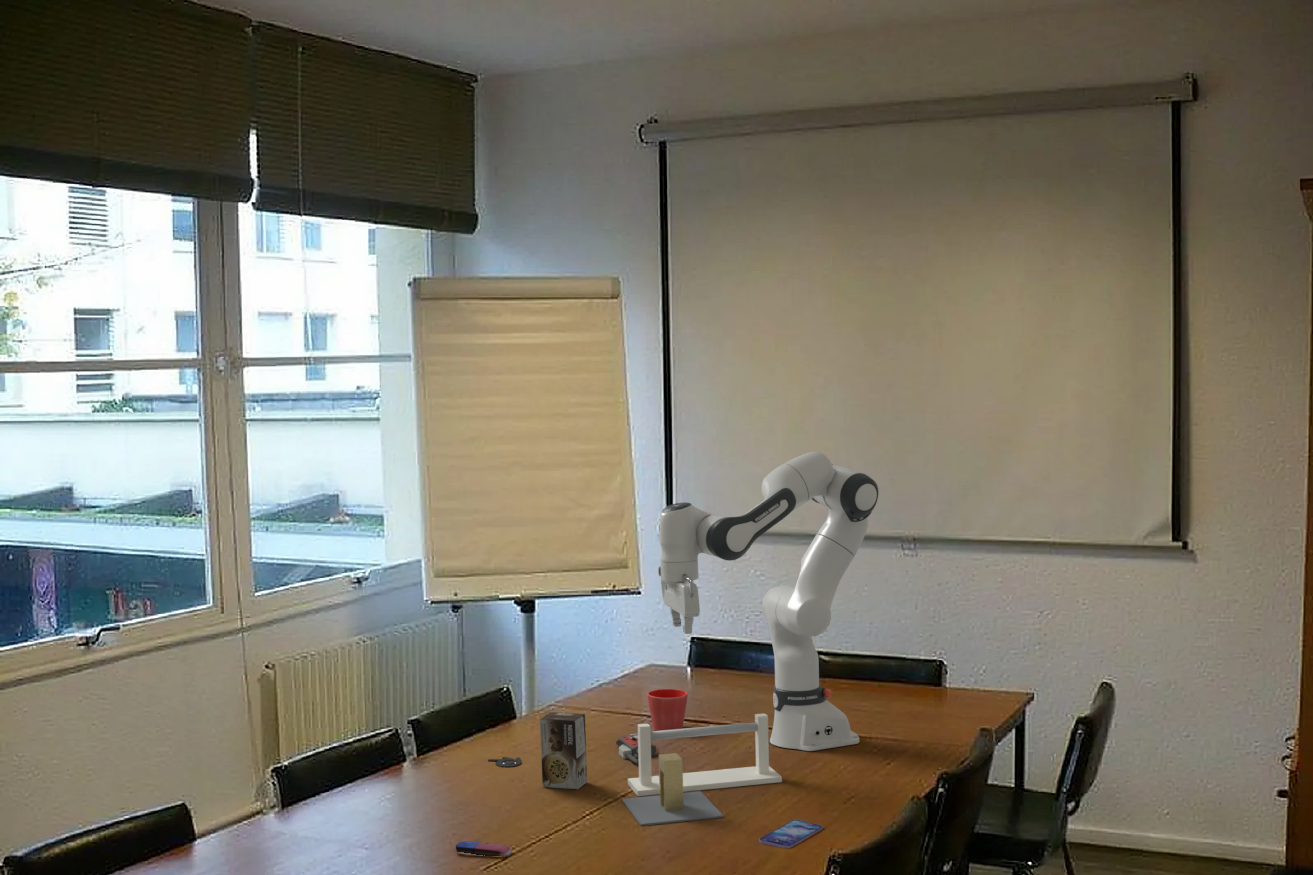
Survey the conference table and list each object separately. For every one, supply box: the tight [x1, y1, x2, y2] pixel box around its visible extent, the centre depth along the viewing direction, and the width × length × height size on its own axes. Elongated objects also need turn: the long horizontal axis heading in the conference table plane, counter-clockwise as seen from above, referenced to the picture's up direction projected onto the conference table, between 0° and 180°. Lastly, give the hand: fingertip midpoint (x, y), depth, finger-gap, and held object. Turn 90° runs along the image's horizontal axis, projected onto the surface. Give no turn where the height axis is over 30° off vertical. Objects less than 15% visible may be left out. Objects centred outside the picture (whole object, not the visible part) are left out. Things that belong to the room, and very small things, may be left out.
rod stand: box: [627, 713, 783, 797], centre depth 327 cm, size 34×10×15 cm, turn 104°
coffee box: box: [539, 711, 588, 790], centre depth 328 cm, size 9×6×16 cm
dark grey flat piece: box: [487, 756, 522, 768], centre depth 349 cm, size 9×8×1 cm
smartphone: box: [758, 819, 824, 849], centre depth 291 cm, size 7×1×15 cm
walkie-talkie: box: [615, 733, 657, 765], centre depth 352 cm, size 9×4×20 cm
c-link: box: [658, 752, 684, 811], centre depth 309 cm, size 4×5×11 cm
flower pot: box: [647, 688, 688, 731], centre depth 376 cm, size 11×11×10 cm
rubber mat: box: [621, 790, 724, 827], centre depth 309 cm, size 18×18×1 cm
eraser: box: [455, 840, 513, 858], centre depth 284 cm, size 11×4×2 cm, turn 75°
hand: (682, 629), depth 338 cm, fingers open, 8 cm apart
